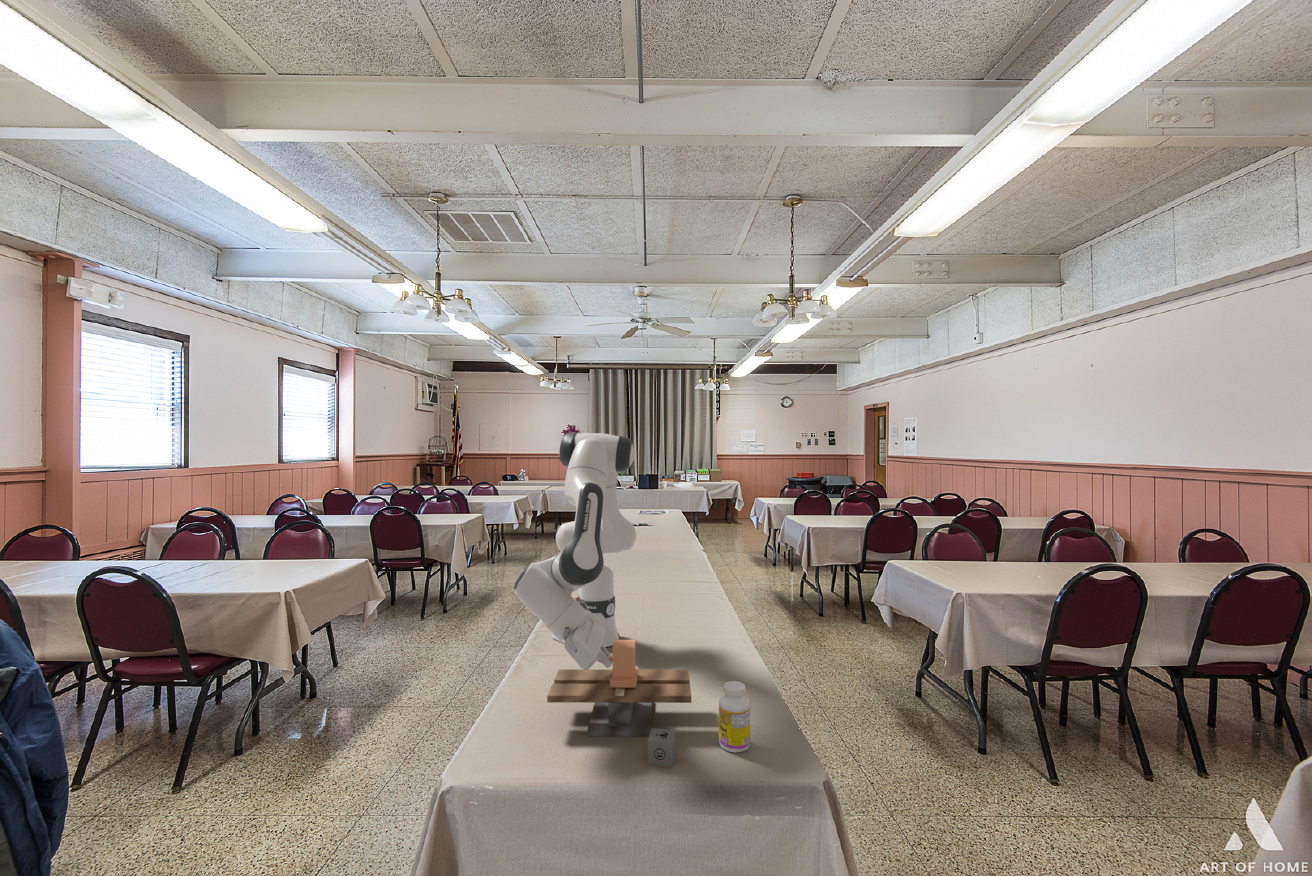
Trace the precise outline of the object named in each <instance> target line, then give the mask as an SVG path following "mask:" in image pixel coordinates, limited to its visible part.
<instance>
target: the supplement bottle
mask: <svg viewBox="0 0 1312 876" xmlns="http://www.w3.org/2000/svg"><path fill="white" fill-rule="evenodd" d="M746 692H747V691H746V684H745V683H743V682H741V681H737V680H731V681H726V682H725V683H723V694H721V696H720V697H719V698H718V699H719V700H718V743H719V746H720V747H721V748H722V749H723V750H725V751H727V752H729V753H735V754H737V753H742V752H743V753H744V752H745V751H747V750H748V749H749V748H750V746H751V701H750V699H749V697H748V696H747V695H746Z"/></svg>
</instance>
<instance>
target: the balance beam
mask: <svg viewBox="0 0 1312 876" xmlns="http://www.w3.org/2000/svg"><path fill="white" fill-rule="evenodd" d="M611 674H612V669H588V670H584V669H572V668H571V669H566V668H565V669H561V668H560V669H558V671H557V674H556V675H555V678H554V679H553V683H552V684H551V686H550V689H549V691H548V692H547V693H548V694H547V697H546V700H547V702H546V703H587V704H588V703H593V706H592V707H593V708H592V711H591V714H590V715H591V716H590V719H589V723H588V725H587V726H588V727H587V732H586V733H587V735H586V736H587V737H648V738H649V735H650V732H651V729H652V717H653V713H652V712H653V703H655V704H657V703H659V704H661V703H662V704H665V703H666V704H669V703H670V704H671V703H672V704H673V703H676V704H677V703H679V704H681V703H682V704H683V703H684V704H690V703H692V691H691V684H690V682H691V679H690V671H689V669H638V677H637V686H636V688H610V678H611Z"/></svg>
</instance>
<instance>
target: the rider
mask: <svg viewBox="0 0 1312 876" xmlns="http://www.w3.org/2000/svg"><path fill="white" fill-rule="evenodd" d="M612 657H613V662H612V669H611V670H612V674H611V678H610V688H636V686H637V677H638V670H639V667H638V666H637V665H636V639H619V640H614V644H613V645H612Z"/></svg>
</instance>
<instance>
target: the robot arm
mask: <svg viewBox="0 0 1312 876" xmlns="http://www.w3.org/2000/svg"><path fill="white" fill-rule="evenodd" d="M633 443H634V442H633V441H632V440H631V439H630V438H629V437H626V436H624V435H623V436H622V435H616V434H615V435H614V434H609V433H602V432H598V433H596V432H577V431H574V432H567V433H565V434H564V435H563V436H562V437H561V440H560V443H559V445H558V456H559V461H560V463H562V465H563V466H565V467H567V468H566V469H567V470H566V474H565V479H564V497H565V499H566V500H567V502H568V503H569V504H571V505H572V506H574V507H575V509H576V510H575V518H574V521H569V522H564V523H562V524H561V525H560V526H559V527H558V529H557V531H556V534H555V544H556V546H557V548H558V550H559V551H560V553H558V554H557V555H555V556H552V557H550V558H547V559H544V560H542V561H538V562H530V563H528V564H527V565H526V566H525V567H524V568H523V570H522V571H521V573H520V574H519V575H518V576H517V579H516V580H515V581H514V584H513V590H514V593H515V596H517V598H518V599H519V600H520V601H521V603H522V604H523V605H524V606H525V608H527V610H528V611H529V612H530V613H532V615H533V616H535V617H537V618H539V619H540V620H541V621H542V623H543V625H544V626H545V628H546V629H547V630H549V632H550V633H551V634H552V636H551V637H552V639H554V640H556V641H558V642H560V643H562V644H563V645H564V649H565V651H566V652H567V653H568V654H569V655H568V656H570V657H571V658H572V659H573V661H575V662H576V664H577V665H578V666H579V667H580V668H581V669H582V670H590V668H591V667H592V666H594V664H595V663H596V662H598V663H600V664H602V665H603V666H604V667H605V668H608V669H610V667H611V666H613V655H611V653H610V652H609V651H608V649H607V648H608V647H612V646H613V644H614V640H620V637H619V634H618V629H617V628H618V627H617V624H616V615H615V611H616V596H615V594H614V593H615V591H614V590H615V589H614V587H615V585H614V584H615V579H614V578H615V577H614V571H612V569H611V568H610V567H608V566H607V565H605V564H604V555H605V554H619V553H622V552H625V551H626V552H627V551H629V550H631V549H632V548H633V547H634V545H635V542H636V541H637V540H636V539H637V532H636V527H635V526H634V525H633V524H632V522H631V521H630V520H628V519H627V518H626V517H625V516H623V514H622V513H621V511H620V510H619V507H618V501H617V500H618V499H617V488H618V487H617V485H618V473H622V472H627V470H629V469H630V468H631V466H632V464H633V462H634V459H635V456H636V455H635V451H636V450H635V448H634V444H633ZM577 590H579V595H578V597H575V598H573V596H572V594H573V593H574V592H575V591H577Z"/></svg>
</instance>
